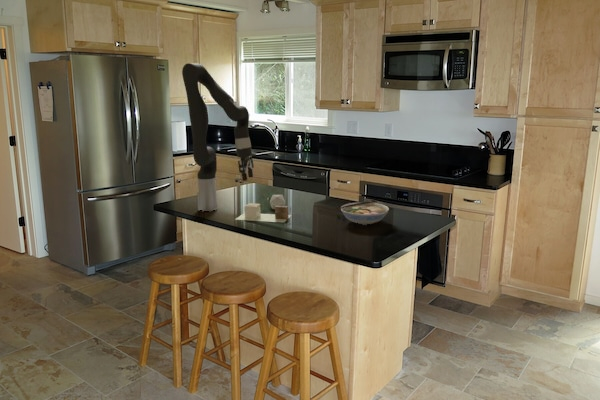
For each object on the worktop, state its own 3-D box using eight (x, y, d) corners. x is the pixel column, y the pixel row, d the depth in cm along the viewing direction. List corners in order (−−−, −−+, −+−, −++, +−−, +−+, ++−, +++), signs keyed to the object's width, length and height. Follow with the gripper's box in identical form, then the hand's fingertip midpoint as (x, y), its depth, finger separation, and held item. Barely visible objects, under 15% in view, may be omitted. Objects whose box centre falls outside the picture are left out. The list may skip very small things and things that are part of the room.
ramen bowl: (358, 233, 230) (358, 215, 228) (328, 221, 249) (328, 205, 247) (400, 224, 243) (401, 207, 241) (369, 213, 262) (369, 198, 260)
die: (279, 213, 268) (289, 197, 269) (265, 205, 268) (275, 189, 269) (280, 215, 276) (289, 199, 277) (266, 207, 276) (275, 191, 277)
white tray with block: (234, 220, 253) (234, 207, 251) (244, 213, 265) (243, 201, 264) (283, 223, 247) (283, 210, 245) (291, 216, 259) (291, 203, 257)
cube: (245, 218, 255) (244, 206, 254) (249, 214, 261) (248, 203, 259) (256, 218, 254) (256, 206, 252) (260, 215, 259) (260, 203, 258)
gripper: (241, 145, 265) (246, 176, 269) (231, 149, 252) (236, 182, 255) (255, 144, 263) (259, 175, 267) (245, 148, 250) (250, 181, 253)
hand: (248, 178), depth 261 cm, fingers open, 8 cm apart
